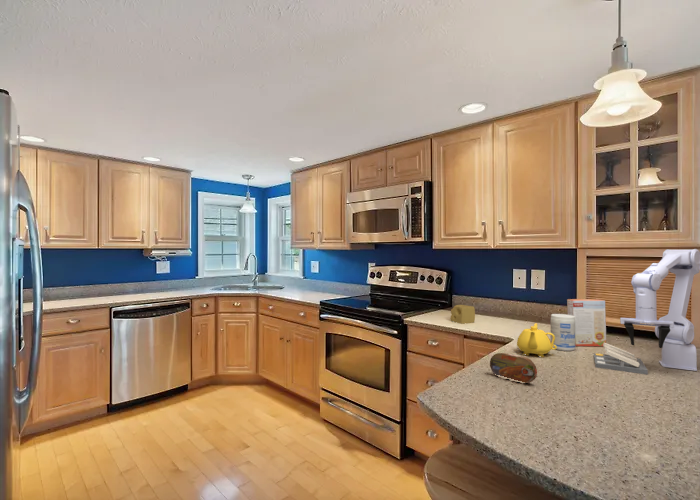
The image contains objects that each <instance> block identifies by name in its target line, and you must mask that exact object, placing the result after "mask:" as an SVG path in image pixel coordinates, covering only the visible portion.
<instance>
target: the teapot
mask: <svg viewBox="0 0 700 500" xmlns="http://www.w3.org/2000/svg"><path fill="white" fill-rule="evenodd" d="M538 328H539V327H538V323H537V322H536V323H534V324H533V325H532V326H530V328H524V329H523V330H522V331H521V333H520V334H519V336H518V337H517V341H516V346H517V348H518V349H519V350H520V351H521V352H523V354H526V355H525V356H530V354H535V355H537V357H538V356H541V357H540V358H545V355H546V354H548V353H549V352H550V351H552V350H553V351H556V350H557V346H556V345H553V344H554V341H555V336H554V335H553V334H552V333H551V331H549V332H545V331H544V330H543V329H540V328H539V329H538ZM548 335H549V336H551V335H552V337H553V340H552V343H551V341H550V340H551V338H549V336H548ZM553 346H555V348H553ZM523 354H522V355H523Z"/></svg>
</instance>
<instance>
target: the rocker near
mask: <svg viewBox="0 0 700 500" xmlns="http://www.w3.org/2000/svg"><path fill="white" fill-rule="evenodd" d="M604 354H605V355H610V356H612V357H615V358H617V359H620V360H622V361H624V362H627V363H629V364H632V365H634V366H636V367H639V365H640V364H639V362H636V361H634V360H632V359H629V358H627V357H624V356H622V355H619V354H617V353H615V352H612V351H610V350H607V349H606V350H604Z"/></svg>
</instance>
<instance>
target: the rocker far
mask: <svg viewBox="0 0 700 500" xmlns="http://www.w3.org/2000/svg"><path fill="white" fill-rule="evenodd" d="M603 346H604V347H605V346H607V347H610V348H612V349H615V350H617V351H620V352H622V353H625V354H627V355H630V356H632V357H635V358H636V356H635V353H631V352H629V351H627V350H624V349H622V348H620V347H617V346H614V345H612V344H609V343H607V342H606V343H605V342H604V344H603ZM604 347H603V348H604Z"/></svg>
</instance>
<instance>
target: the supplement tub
mask: <svg viewBox="0 0 700 500" xmlns="http://www.w3.org/2000/svg"><path fill="white" fill-rule="evenodd" d="M550 333H552V334H553V335H554V336H555V341H554V344H553V345H556V346H557V349H556V350H557V351H564V352H573V351H575V350H576V346H575V316H572V315H568V314H566V313H552V314H550ZM552 340H553V337H552V335H550V342H551V343H552ZM553 348H555V346H553Z"/></svg>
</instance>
